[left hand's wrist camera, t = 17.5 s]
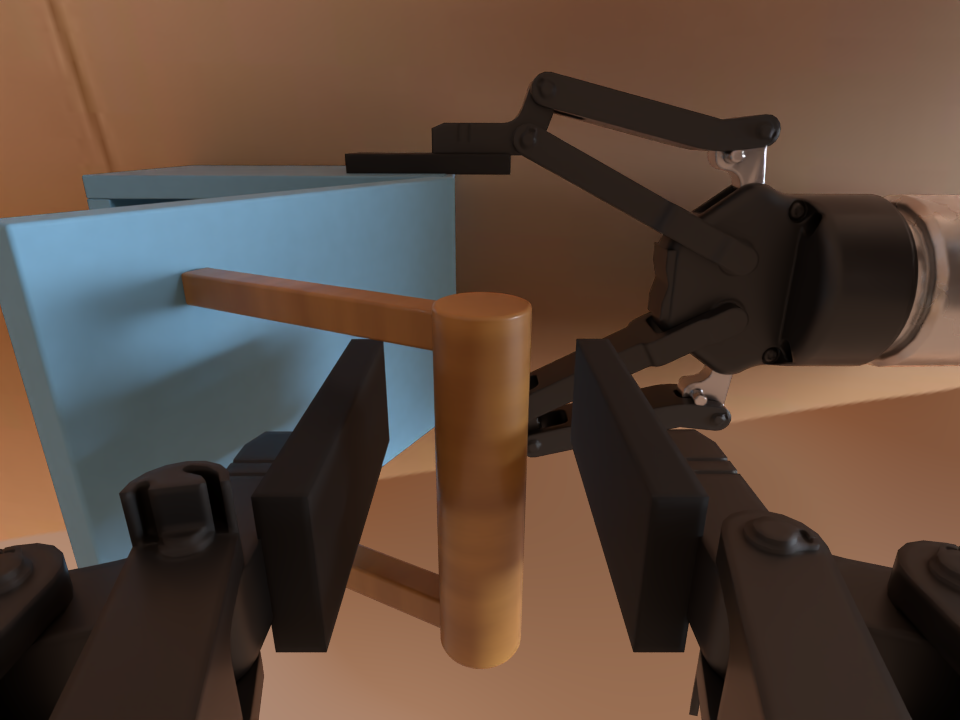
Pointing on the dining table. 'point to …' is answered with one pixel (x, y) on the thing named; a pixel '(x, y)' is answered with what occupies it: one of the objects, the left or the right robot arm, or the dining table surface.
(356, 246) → the lid
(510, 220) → the dining table surface
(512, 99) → the dining table surface
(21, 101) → the dining table surface
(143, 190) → the chest
